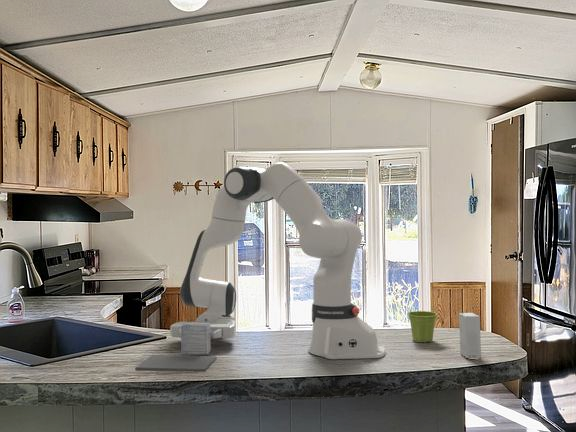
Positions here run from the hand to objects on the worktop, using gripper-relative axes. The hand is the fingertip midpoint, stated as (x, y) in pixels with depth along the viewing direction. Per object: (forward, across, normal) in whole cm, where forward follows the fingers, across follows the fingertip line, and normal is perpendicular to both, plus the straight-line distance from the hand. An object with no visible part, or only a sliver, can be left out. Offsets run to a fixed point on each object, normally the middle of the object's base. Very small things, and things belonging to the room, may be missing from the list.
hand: (197, 335), depth 172 cm
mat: (+13, -2, +5) cm, 14 cm away
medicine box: (+1, 0, +5) cm, 5 cm away
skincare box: (-1, +79, +5) cm, 79 cm away
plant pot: (-20, +68, +5) cm, 71 cm away
